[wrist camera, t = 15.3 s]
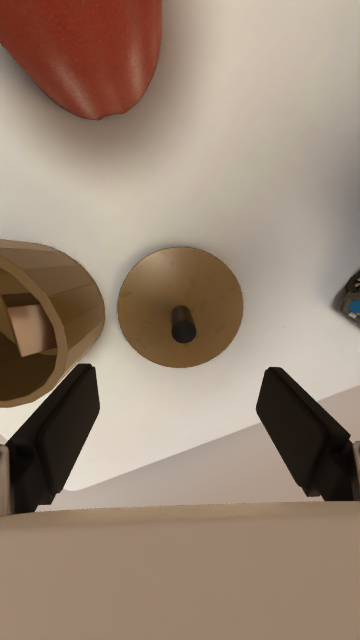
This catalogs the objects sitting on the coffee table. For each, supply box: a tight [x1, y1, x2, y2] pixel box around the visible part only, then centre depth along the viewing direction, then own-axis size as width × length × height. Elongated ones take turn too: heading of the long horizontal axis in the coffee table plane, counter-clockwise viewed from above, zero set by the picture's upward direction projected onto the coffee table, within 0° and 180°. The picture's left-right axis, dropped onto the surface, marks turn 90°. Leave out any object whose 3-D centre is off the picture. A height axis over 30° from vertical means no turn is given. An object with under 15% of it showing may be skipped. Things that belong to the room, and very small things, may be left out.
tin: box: [0, 239, 105, 408], centre depth 17 cm, size 15×15×8 cm
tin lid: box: [117, 247, 243, 368], centre depth 19 cm, size 16×16×7 cm
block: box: [1, 292, 58, 357], centre depth 18 cm, size 4×4×6 cm
